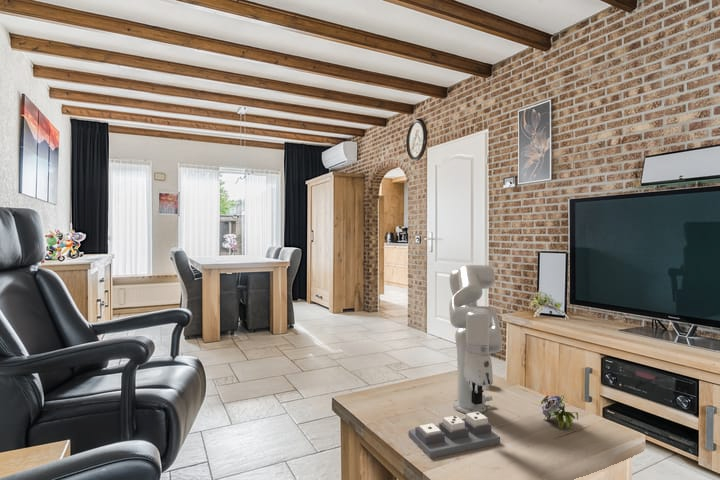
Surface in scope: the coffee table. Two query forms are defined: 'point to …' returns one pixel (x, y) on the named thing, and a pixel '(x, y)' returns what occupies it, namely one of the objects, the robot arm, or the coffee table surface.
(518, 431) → the coffee table surface
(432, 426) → the one-dot tile
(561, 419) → the passion flower
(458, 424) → the three-dot tile
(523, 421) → the coffee table surface
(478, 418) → the two-dot tile
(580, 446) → the coffee table surface
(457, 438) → the key board
